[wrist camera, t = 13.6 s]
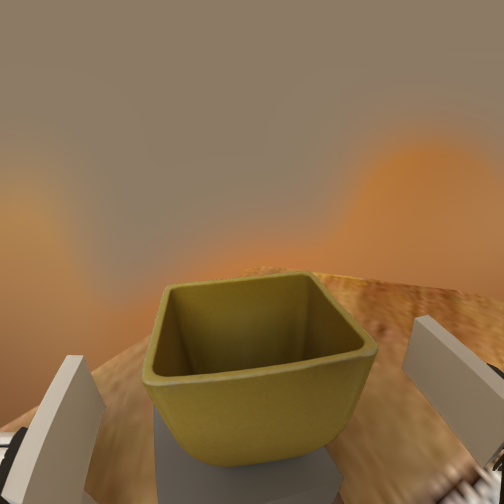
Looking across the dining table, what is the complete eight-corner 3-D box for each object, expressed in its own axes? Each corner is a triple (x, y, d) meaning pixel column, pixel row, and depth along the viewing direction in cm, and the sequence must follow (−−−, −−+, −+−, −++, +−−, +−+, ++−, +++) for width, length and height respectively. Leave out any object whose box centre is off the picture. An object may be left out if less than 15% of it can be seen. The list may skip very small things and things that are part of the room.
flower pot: (188, 393, 20) (165, 281, 17) (305, 378, 21) (310, 267, 18) (188, 495, 11) (137, 383, 9) (347, 470, 13) (384, 349, 10)
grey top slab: (284, 409, 23) (285, 375, 21) (332, 502, 13) (343, 478, 12) (165, 429, 20) (153, 397, 19) (178, 535, 11) (159, 516, 10)
